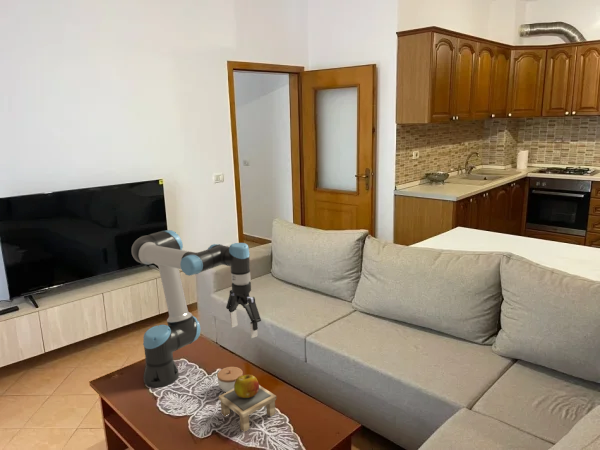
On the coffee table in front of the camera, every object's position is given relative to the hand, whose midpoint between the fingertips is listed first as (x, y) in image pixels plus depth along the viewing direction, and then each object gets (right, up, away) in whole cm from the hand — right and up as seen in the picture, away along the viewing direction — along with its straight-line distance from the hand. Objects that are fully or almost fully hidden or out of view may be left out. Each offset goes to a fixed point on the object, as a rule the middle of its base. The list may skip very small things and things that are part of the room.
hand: (244, 331), depth 186 cm
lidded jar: (-7, -27, +10) cm, 30 cm away
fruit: (+2, -23, -8) cm, 25 cm away
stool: (+3, -31, -6) cm, 32 cm away
